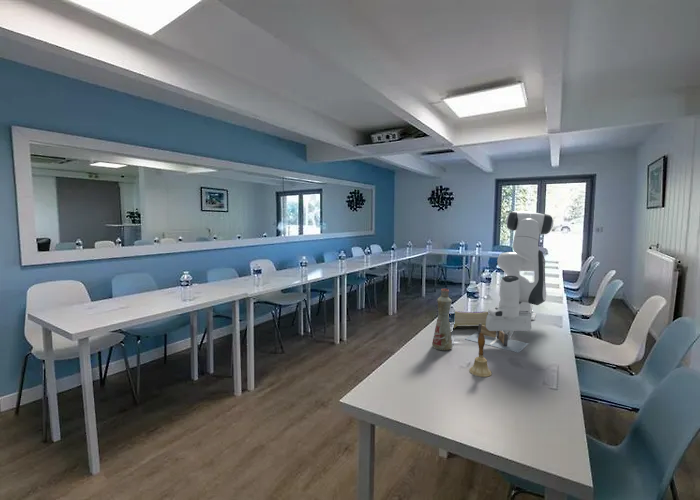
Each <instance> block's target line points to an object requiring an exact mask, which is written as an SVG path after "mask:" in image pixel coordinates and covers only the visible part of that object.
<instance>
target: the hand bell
mask: <svg viewBox="0 0 700 500" xmlns="http://www.w3.org/2000/svg"><path fill="white" fill-rule="evenodd" d="M485 345H486V344H485V338H484V334H483V333H482V332H480V334H479V337H478V342H477V346H478V356H477V357H474V361H473V364H472V366H471V367H470V368H469V370H468V371H469V373H470V374H471V375H473V376H476V377H478V378H479V377H480V378H488V377H491V376H492V371H491V370H490V369H489V366H488V359H487V358H485V356H484V348H485Z"/></svg>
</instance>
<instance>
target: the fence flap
mask: <svg viewBox="0 0 700 500" xmlns="http://www.w3.org/2000/svg"><path fill="white" fill-rule="evenodd" d="M499 340H500V341H501V342H502V343H503V344H504V346H507V345H508V333H507V334H504V332H503V331H499Z"/></svg>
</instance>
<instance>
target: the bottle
mask: <svg viewBox="0 0 700 500" xmlns="http://www.w3.org/2000/svg"><path fill="white" fill-rule="evenodd" d="M449 293H450V291H449V289H448V288H441V289H440V296H439V297H438V298H437V312H438V313H437V318H436V324H435V329H434V334H433V338H432V342H431V343H432V347H433V349H436V350H438V351H442V352H443V351H450V350H451V349H453V341H452V332H451V331H452V330H451V328H450V322H449V314H450V311H451V304H452V299H451V298H450V297H449Z"/></svg>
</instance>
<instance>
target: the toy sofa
mask: <svg viewBox="0 0 700 500" xmlns="http://www.w3.org/2000/svg"><path fill="white" fill-rule="evenodd" d="M454 311H455V324H454V329H455V328H456V327H458V326H479V323H481V324H482V325H484V326H486V318H487V315H488V314H490V313H489V312H488V311H460V310H459V311H458V310H454Z"/></svg>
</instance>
